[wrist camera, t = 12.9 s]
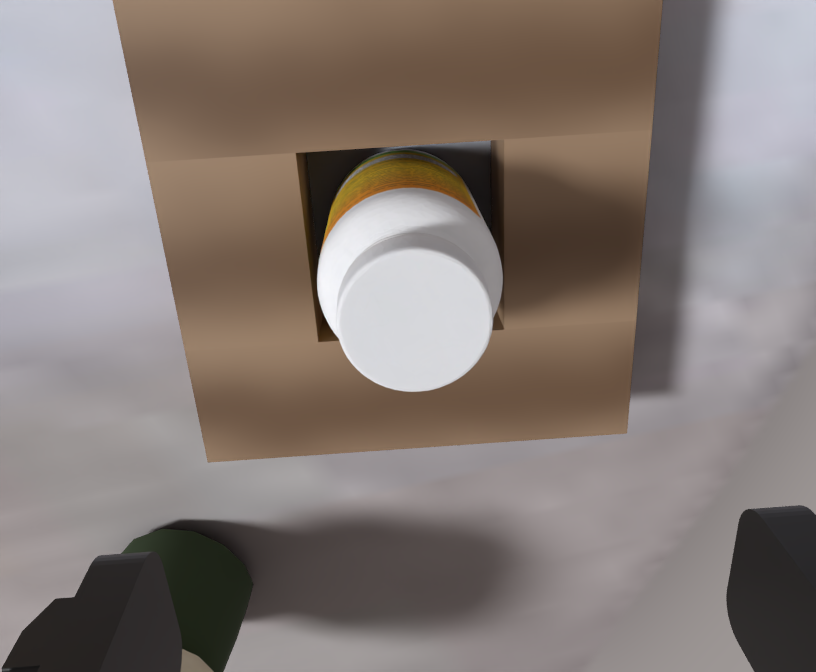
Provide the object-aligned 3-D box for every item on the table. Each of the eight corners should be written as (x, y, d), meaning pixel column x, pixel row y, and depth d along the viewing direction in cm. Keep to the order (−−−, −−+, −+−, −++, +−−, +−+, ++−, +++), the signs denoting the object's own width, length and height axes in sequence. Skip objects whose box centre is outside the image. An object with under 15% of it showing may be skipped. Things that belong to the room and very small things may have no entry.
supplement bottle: (301, 194, 26) (263, 288, 17) (430, 117, 25) (459, 176, 17) (377, 311, 28) (377, 449, 20) (499, 244, 27) (557, 358, 19)
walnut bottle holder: (142, -2, 23) (111, -3, 21) (632, -32, 24) (665, -37, 21) (223, 421, 30) (207, 462, 27) (604, 395, 30) (626, 433, 28)
